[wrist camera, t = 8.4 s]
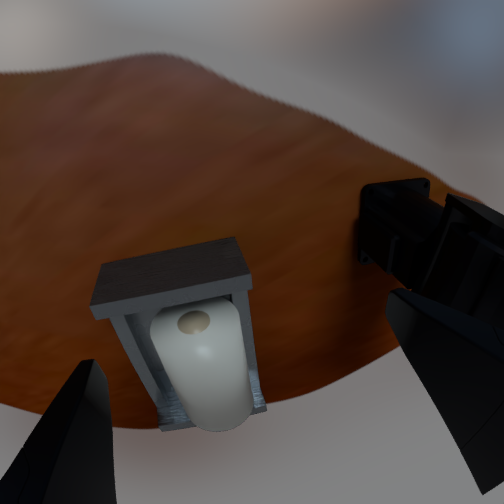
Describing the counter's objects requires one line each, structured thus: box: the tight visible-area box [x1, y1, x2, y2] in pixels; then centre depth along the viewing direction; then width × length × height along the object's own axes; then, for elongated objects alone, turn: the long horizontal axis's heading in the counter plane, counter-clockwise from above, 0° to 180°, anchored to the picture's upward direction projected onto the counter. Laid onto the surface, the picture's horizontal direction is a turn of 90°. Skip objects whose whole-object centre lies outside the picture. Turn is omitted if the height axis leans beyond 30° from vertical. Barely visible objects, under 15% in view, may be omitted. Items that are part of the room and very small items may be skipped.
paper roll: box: [150, 296, 254, 432], centre depth 21 cm, size 9×6×6 cm, turn 6°
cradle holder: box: [89, 237, 267, 432], centre depth 21 cm, size 9×14×4 cm, turn 6°
